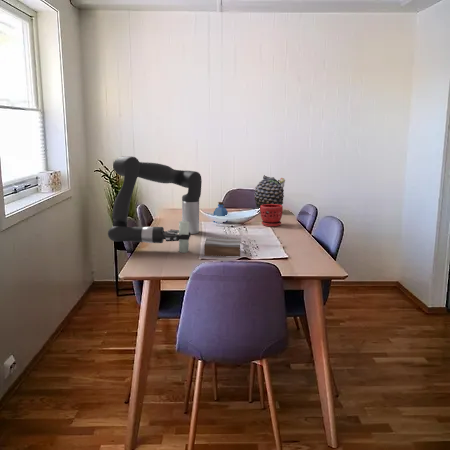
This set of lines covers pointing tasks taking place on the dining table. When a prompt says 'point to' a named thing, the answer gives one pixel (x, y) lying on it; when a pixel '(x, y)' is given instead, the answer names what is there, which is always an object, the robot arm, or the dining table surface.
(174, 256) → the dining table surface
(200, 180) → the robot arm
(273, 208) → the plant pot
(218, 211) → the perfume bottle
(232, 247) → the stand
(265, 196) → the round potted cactus
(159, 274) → the dining table surface
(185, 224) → the pale green cylinder
